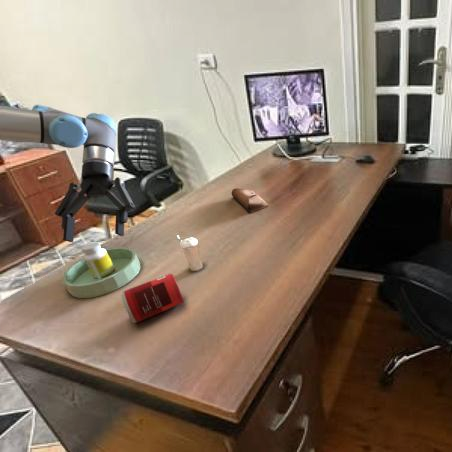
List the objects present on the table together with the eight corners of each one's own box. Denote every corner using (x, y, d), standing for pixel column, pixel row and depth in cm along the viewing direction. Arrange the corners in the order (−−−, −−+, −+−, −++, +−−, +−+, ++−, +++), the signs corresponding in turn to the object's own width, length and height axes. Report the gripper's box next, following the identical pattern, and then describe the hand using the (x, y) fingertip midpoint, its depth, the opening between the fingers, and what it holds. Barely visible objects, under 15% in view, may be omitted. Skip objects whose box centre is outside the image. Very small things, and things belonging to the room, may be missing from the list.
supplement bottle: (119, 268, 99) (105, 238, 94) (110, 279, 95) (95, 249, 90) (100, 270, 99) (85, 241, 94) (90, 282, 94) (74, 252, 90)
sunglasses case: (270, 204, 127) (258, 193, 123) (256, 218, 126) (244, 207, 122) (251, 190, 141) (240, 179, 137) (239, 203, 140) (228, 192, 136)
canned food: (176, 283, 88) (128, 302, 83) (169, 266, 82) (118, 285, 77) (186, 308, 85) (137, 329, 80) (180, 292, 79) (126, 313, 74)
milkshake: (193, 261, 100) (182, 231, 95) (208, 264, 98) (198, 233, 93) (182, 271, 96) (171, 240, 91) (198, 273, 94) (187, 242, 90)
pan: (54, 302, 89) (47, 290, 87) (90, 262, 104) (84, 251, 103) (124, 293, 90) (118, 281, 88) (149, 255, 105) (145, 244, 103)
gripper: (149, 166, 104) (147, 235, 98) (63, 176, 103) (57, 246, 97) (135, 155, 96) (133, 228, 91) (43, 165, 96) (35, 240, 90)
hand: (93, 237), depth 94 cm, fingers open, 13 cm apart
